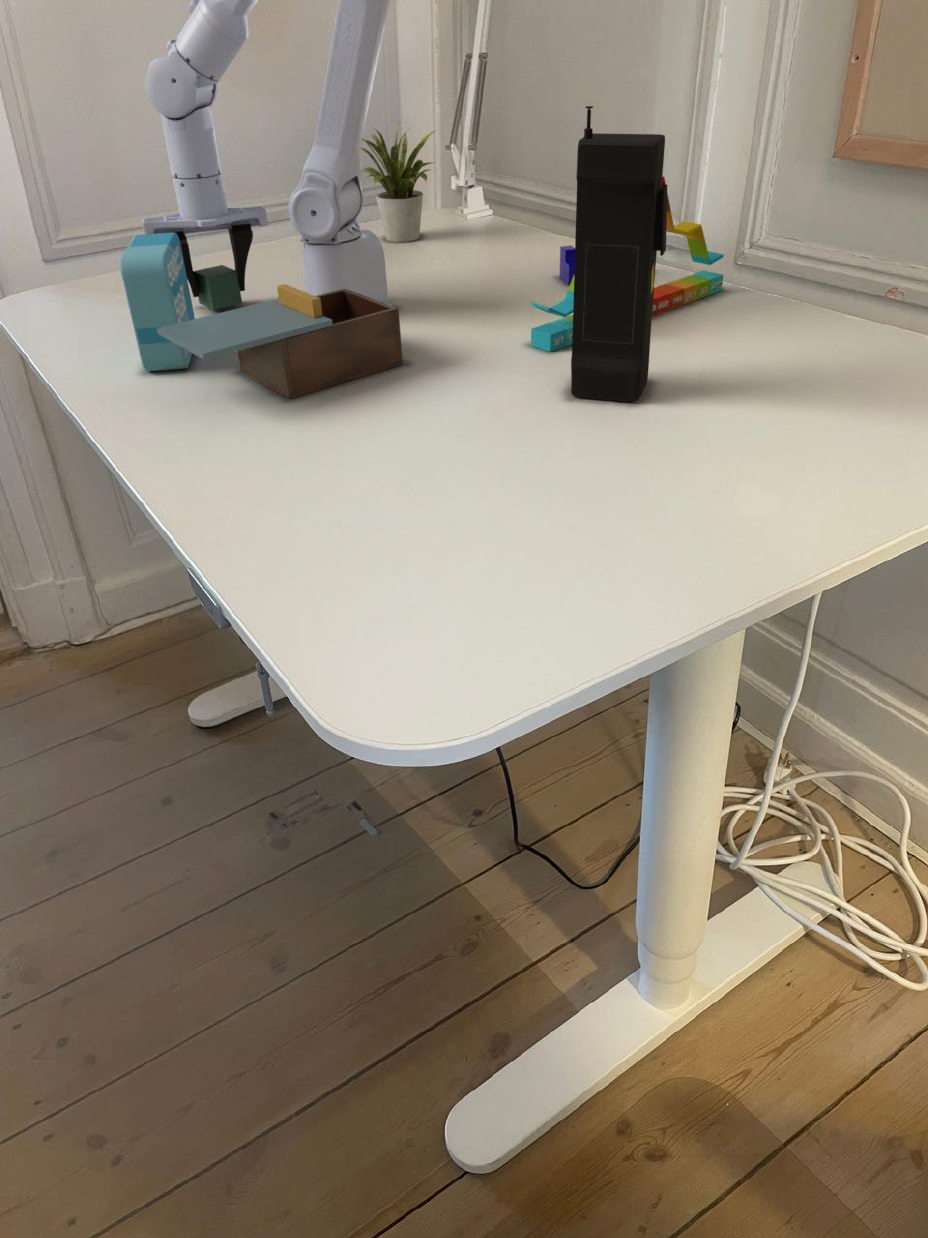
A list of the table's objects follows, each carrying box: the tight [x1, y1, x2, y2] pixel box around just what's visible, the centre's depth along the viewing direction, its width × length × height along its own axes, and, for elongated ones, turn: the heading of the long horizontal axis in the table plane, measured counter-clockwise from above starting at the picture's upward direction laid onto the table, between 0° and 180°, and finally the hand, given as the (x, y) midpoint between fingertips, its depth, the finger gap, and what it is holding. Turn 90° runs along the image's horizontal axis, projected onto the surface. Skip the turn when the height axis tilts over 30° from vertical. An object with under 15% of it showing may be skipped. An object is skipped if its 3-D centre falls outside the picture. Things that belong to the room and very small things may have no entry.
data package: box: [119, 233, 196, 372], centre depth 105 cm, size 12×4×12 cm, turn 7°
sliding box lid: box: [157, 283, 333, 361], centre depth 95 cm, size 14×10×2 cm
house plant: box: [360, 119, 437, 243], centre depth 144 cm, size 14×14×16 cm
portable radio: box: [570, 105, 668, 403], centre depth 88 cm, size 8×6×25 cm
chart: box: [530, 175, 724, 353], centre depth 109 cm, size 30×3×15 cm, turn 131°
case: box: [236, 289, 404, 400], centre depth 101 cm, size 14×10×6 cm
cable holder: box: [559, 244, 575, 286], centre depth 126 cm, size 8×4×4 cm, turn 105°
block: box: [193, 264, 243, 311], centre depth 120 cm, size 4×4×4 cm
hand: (218, 291), depth 121 cm, fingers closed on block, 5 cm apart
